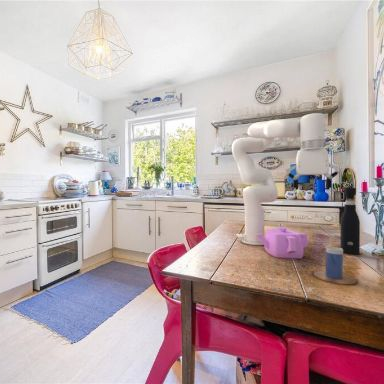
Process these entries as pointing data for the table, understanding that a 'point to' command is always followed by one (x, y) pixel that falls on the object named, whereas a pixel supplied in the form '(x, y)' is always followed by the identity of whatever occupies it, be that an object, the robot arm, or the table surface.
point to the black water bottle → (350, 225)
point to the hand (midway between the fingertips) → (311, 189)
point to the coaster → (346, 279)
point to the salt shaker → (334, 263)
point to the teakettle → (284, 243)
